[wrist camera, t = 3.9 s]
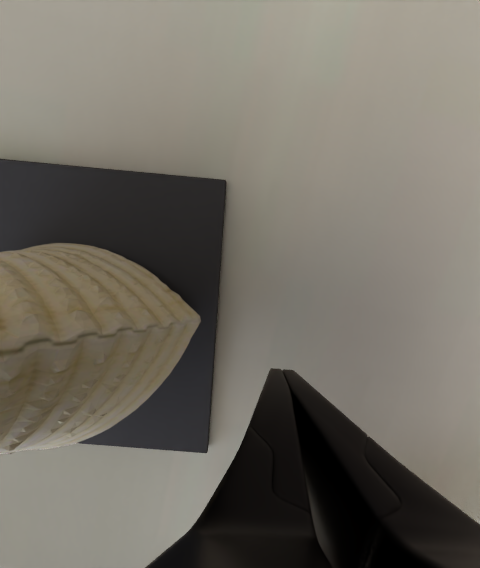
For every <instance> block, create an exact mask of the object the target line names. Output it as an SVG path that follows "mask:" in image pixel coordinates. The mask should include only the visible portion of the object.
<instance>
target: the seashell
mask: <svg viewBox="0 0 480 568" xmlns="http://www.w3.org/2000/svg"><path fill="white" fill-rule="evenodd" d="M200 322H201V319H200V316H199V315H198V314H197V313H196V312H195V311H194V310H193V309H192V308H191V307H190V306H189V305H188V304H187V303H185V302H184V301H183V300H182V298H181V297H180V296H179V295H178V294H177V293H175V292H173V291H171V290H170V289H169V288H168V286H167V285H165V284H164V283H162V282H161V281H160V280H159V279H158V277H156V276H155V275H154V274H152V273H151V272H149V271H148V270H147V269H145V268H144V267H142V266H140V265H138V264H136V263H135V262H132V261H130V260H128V259H126V258H124V257H122V256H120V255H118V254H115V253H112V252H110V251H108V250H105V249H101V248H97V247H94V246H89V245H82V244H72V243H52V244H44V245H39V246H33V247H30V248H26V249H22V250H16V251H5V252H0V454H6V453H8V454H12V453H14V452H16V451H23V450H40V449H51V448H57V447H63V446H67V445H71V444H75V443H78V442H80V441H83V440H86V439H88V438H90V437H93V436H95V435H97V434H100V433H102V432H103V431H105V430H107V429H109V428H111V427H112V426H114V425H115V424H117V423H118V422H120V421H121V420H122V419H124V418H125V417H127V416H128V415H129V414H131V413H132V412H134V411H135V410H136V409H137V408H138V407H139V406H140V405H142V404H143V403H144V402H145V401H146V400H147V399H148V398H149V397H150V396H151V395H152V394H153V393H154V392H155V391H156V390H157V389H158V387H159V386H160V385H161V384H162V383H163V381H164V380H165V379H166V378H167V377H168V376H169V374H170V373H171V372H172V370H173V368H174V367H175V366H176V364H177V363H178V361H179V360H180V358H181V356H182V355H183V353H184V351H185V349H186V348H187V346H188V344H189V342H190V339H191V337H192V336H193V334H194V333H195V331H196V329H197V327H198V326H199V324H200Z"/></svg>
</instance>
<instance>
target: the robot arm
mask: <svg viewBox="0 0 480 568" xmlns="http://www.w3.org/2000/svg"><path fill="white" fill-rule="evenodd" d="M145 568H480V524H478V523H477V522H476V521H474V520H473V519H472V518H470V517H469V516H468V515H467V514H465V513H464V512H463V511H461V510H460V509H459V508H457V507H456V506H455V505H454V504H452V503H451V502H450V501H448V500H447V499H446V498H444V497H443V496H442V495H441V494H439V493H438V492H437V491H435V490H434V489H433V488H432V487H430V486H429V485H428V484H426V483H425V482H424V481H422V480H421V479H420V478H419V477H417V476H416V475H415V474H414V473H412V472H411V471H410V470H408V469H407V468H406V467H405V466H403V465H402V464H401V463H400V462H398V461H397V460H396V459H395V458H394V457H392V456H391V455H390V454H389V453H388V452H387V451H385V450H384V449H383V448H382V447H381V446H380V445H378V444H377V443H376V442H375V441H374V440H373V439H371V438H370V437H367V434H366V433H365V432H363V431H362V430H361V429H360V428H359V427H358V426H357V425H355V424H354V423H353V422H352V421H351V420H350V419H349V418H347V417H346V416H345V415H344V414H343V413H342V412H341V411H339V410H338V409H337V408H336V407H335V406H334V405H333V404H331V403H330V402H329V401H328V400H327V399H326V398H325V397H323V396H322V395H321V394H320V393H319V392H318V391H317V390H315V389H314V388H313V387H312V386H311V385H310V384H309V383H307V382H306V381H305V380H304V379H303V378H302V377H301V376H299V375H298V374H297V373H296V372H295V371H293V370H285V369H284V370H281V369H273V368H271V369H270V371H269V374H268V376H267V379H266V382H265V384H264V387H263V390H262V392H261V395H260V397H259V400H258V403H257V405H256V408H255V411H254V413H253V416H252V418H251V421H250V424H249V426H248V428H247V431H246V434H245V436H244V439H243V441H242V443H241V446H240V448H239V450H238V452H237V454H236V456H235V458H234V459H233V461H232V463H231V465H230V467H229V468H228V470H227V472H226V474H225V475H224V477H223V479H222V480H221V482H220V484H219V485H218V487H217V489H216V491H215V492H214V494H213V496H212V497H211V499H210V501H209V502H208V504H207V506H206V507H205V509H204V511H203V512H202V514H201V515H200V517H199V518H198V520H197V521H196V523H195V524H194V525H193V526H192V528H191V529H190V530H189V531H188V532H187V533H186V534H185V535H184V536H183V537H181V538H180V539H179V540H178V541H177V542H175V543H174V544H173V545H172V546H171V547H169V548H168V549H167V550H166V551H165V552H163V553H162V554H161V555H160V556H159V557H157V558H156V559H155V560H154V561H153V562H151V563H150V564H149V565H148V566H147V567H145Z"/></svg>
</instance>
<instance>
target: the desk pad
mask: <svg viewBox="0 0 480 568" xmlns="http://www.w3.org/2000/svg"><path fill="white" fill-rule="evenodd" d="M225 193H226V181H225V180H219V179H208V178H197V177H187V176H176V175H165V174H155V173H144V172H133V171H123V170H112V169H101V168H90V167H80V166H69V165H58V164H48V163H37V162H26V161H16V160H5V159H0V252H5V251H16V250H22V249H26V248H30V247H33V246H39V245H44V244H52V243H72V244H82V245H89V246H94V247H97V248H101V249H105V250H108V251H110V252H112V253H115V254H118V255H120V256H122V257H124V258H126V259H128V260H130V261H132V262H135V263H136V264H138V265H140V266H142V267H144V268H145V269H147V270H148V271H149V272H151V273H152V274H154V275H155V276H156V277H158V279H159V280H160V281H161V282H162V283H164V284H165V285H167V286H168V288H169V289H170V290H171V291H173V292H175V293H177V294H178V295H179V296H180V297H181V298H182V300H183V301H184V302H185V303H187V304H188V305H189V306H190V307H191V308H192V309H193V310H194V311H195V312H196V313H197V314H198V315H199V316H200V319H201V322H200V324H199V326H198V327H197V329H196V331H195V333H194V334H193V336H192V337H191V339H190V342H189V344H188V346H187V348H186V349H185V351H184V353H183V355H182V356H181V358H180V360H179V361H178V363H177V364H176V366H175V367H174V368H173V370H172V372H171V373H170V374H169V376H168V377H167V378H166V379H165V380H164V381H163V383H162V384H161V385H160V386H159V387H158V389H157V390H156V391H155V392H154V393H153V394H152V395H151V396H150V397H149V398H148V399H147V400H146V401H145V402H144V403H143V404H142V405H140V406H139V407H138V408H137V409H136V410H135V411H134V412H132V413H131V414H129V415H128V416H127V417H125V418H124V419H122V420H121V421H120V422H118V423H117V424H115V425H114V426H112V427H111V428H109V429H107V430H105V431H103V432H102V433H100V434H97V435H95V436H93V437H90V438H88V439H86V440H83V441H80V442H78V443H82V444H95V445H108V446H121V447H134V448H147V449H160V450H173V451H186V452H199V453H207V451H208V441H209V427H210V412H211V397H212V383H213V368H214V354H215V339H216V324H217V310H218V295H219V281H220V266H221V251H222V237H223V222H224V208H225Z"/></svg>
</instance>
